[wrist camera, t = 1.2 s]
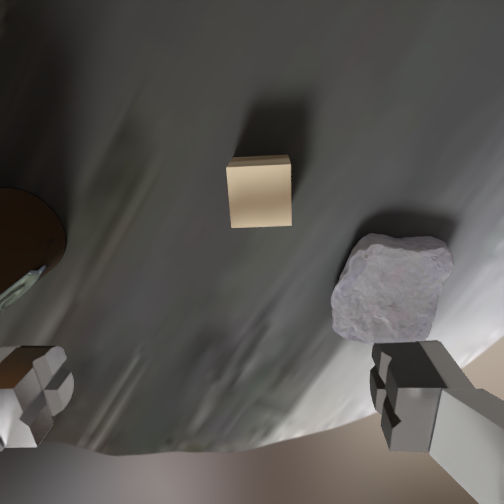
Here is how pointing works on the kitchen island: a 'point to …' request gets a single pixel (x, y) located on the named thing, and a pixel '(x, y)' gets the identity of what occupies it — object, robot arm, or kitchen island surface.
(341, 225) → the kitchen island surface
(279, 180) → the maple block
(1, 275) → the olive oil
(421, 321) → the stone block
